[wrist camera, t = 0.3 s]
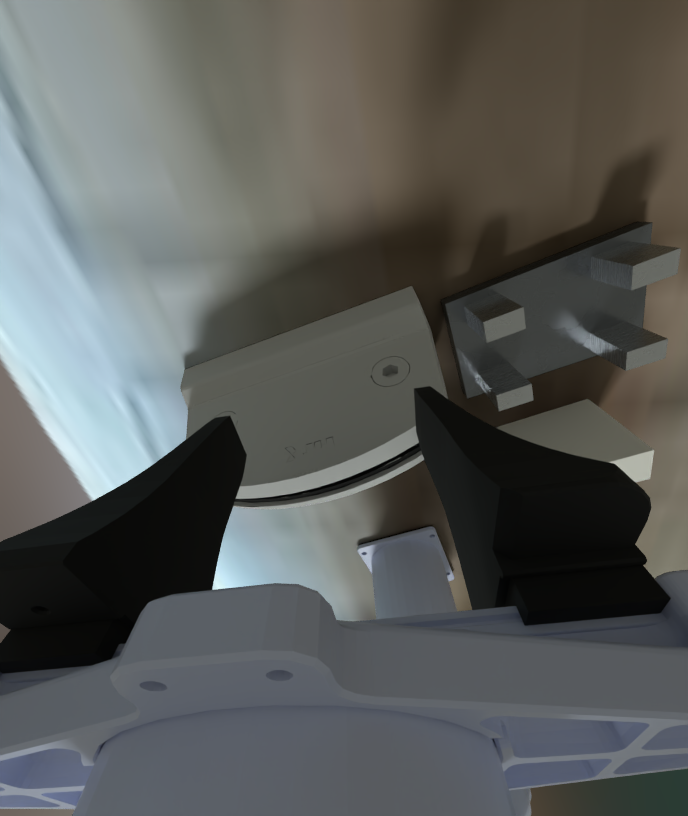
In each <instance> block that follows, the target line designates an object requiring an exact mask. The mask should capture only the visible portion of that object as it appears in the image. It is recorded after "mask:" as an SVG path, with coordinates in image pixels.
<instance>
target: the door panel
mask: <svg viewBox="0 0 688 816" xmlns="http://www.w3.org/2000/svg"><path fill="white" fill-rule="evenodd" d="M496 428H498V429H500V430H502V431H504V432H506V433H508V434H511V435H513V436H516V437H518V438H521V439H524V440H526V441H529V442H532V443H535V444H538V445H541V446H544V447H547V448H550V449H554V450H557V451H561V452H565V453H568V454H572V455H576V456H581V457H585V458H590V459H595V460H599V461H604V462H609V463H613V464H616V465H617V466H618V467H619V468H620V469H621V470H622V471H624V472H625V473H626V474H627V475H628V476H629V477H630V478H631V479H632V480H633V481H634V482H639V481H643V480H647V479H650V476H651V468H652V461H653V454H654V449H652V448H651V447H650V446H648V445H647V444H646V443H645V442H643V441H642V440H641V439H639V438H638V437H637V436H635V435H634V434H633V433H632V432H630V431H629V430H628V429H626V428H625V427H624V426H623V425H621V424H620V423H619V422H617V421H616V420H615V419H614V418H612V417H611V416H610V415H608V414H607V413H606V412H605V411H603V410H602V409H601V408H599V407H598V406H597V405H596V404H594V403H593V402H592V401H590V400H589V399H585V400H582V401H579V402H576V403H573V404H569V405H566V406H563V407H560V408H557V409H553V410H550V411H547V412H544V413H541V414H537V415H534V416H531V417H528V418H524V419H521V420H518V421H515V422H512V423H508V424H505V425H502V426H499V427H496Z"/></svg>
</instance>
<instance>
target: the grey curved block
mask: <svg viewBox="0 0 688 816" xmlns="http://www.w3.org/2000/svg"><path fill="white" fill-rule="evenodd" d="M427 386H431V387H432V388H434V389H435V390H436V391H438V392H439V393H440V394H442V395H443V396H444V397H446V398H447V399H448V396H447V392H446V388H445V383H444V379H443V375H442V372H441V368H440V364H439V360H438V356H437V352H436V348H435V344H434V340H433V336H432V332H431V328H430V326H429V323H428V321H427V318H426V316H425V314H424V311H423V309H422V306H421V304H420V301H419V299H418V297H417V295H416V293H415V291H414V289H413V287H412V286H410V287H407V288H405V289H402V290H399V291H397V292H394V293H391V294H388V295H386V296H383V297H380V298H378V299H375V300H372V301H369V302H367V303H364V304H361V305H359V306H356V307H353V308H350V309H348V310H345V311H342V312H340V313H337V314H334V315H331V316H329V317H326V318H323V319H321V320H318V321H315V322H312V323H310V324H307V325H304V326H302V327H299V328H296V329H293V330H291V331H288V332H285V333H282V334H280V335H277V336H274V337H272V338H269V339H266V340H263V341H261V342H258V343H255V344H253V345H250V346H247V347H244V348H242V349H239V350H236V351H234V352H231V353H228V354H225V355H223V356H220V357H217V358H215V359H212V360H209V361H206V362H204V363H201V364H198V365H196V366H193V367H190V368H187V369H185V370H184V374H183V378H182V382H181V392H182V394H183V397H184V399H185V402H186V404H187V407H188V421H187V435H186V439H188V438H189V437H190V436H191V435H193V434H194V433H195V432H196V431H198V430H199V429H200V428H201V427H203V426H204V425H205V424H207V423H208V422H209V421H211V420H212V419H214V418H216V417H223V416H231V419H232V421H233V423H234V426H235V428H236V430H237V433H238V435H239V438H240V440H241V442H242V445H243V447H244V450H245V452H246V454H247V457H246V464H245V469H244V474H243V478H242V482H241V485H240V488H239V491H238V494H237V496H236V499H235V502H234V505H233V507H240V508H249V509H284V508H294V507H302V506H308V505H314V504H319V503H323V502H327V501H331V500H335V499H338V498H342V497H345V496H348V495H352V494H354V493H357V492H360V491H362V490H365V489H368V488H371V487H373V486H375V485H377V484H380V483H382V482H384V481H387V480H389V479H391V478H393V477H395V476H397V475H399V474H400V473H402V472H404V471H406V470H408V469H410V468H411V467H413V466H415V465H416V464H418V463H420V462H421V461H423V460H424V457H423V455H422V452H421V448H420V445H419V441H418V437H417V433H416V420H415V401H414V388H420V387H427Z"/></svg>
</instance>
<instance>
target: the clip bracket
mask: <svg viewBox="0 0 688 816" xmlns="http://www.w3.org/2000/svg"><path fill="white" fill-rule="evenodd" d="M651 232H652V222H635V223H633V224H630V225H628V226H625V227H622V228H620V229H617V230H615V231H612V232H610V233H607V234H605V235H602V236H600V237H597V238H595V239H592V240H590V241H587V242H585V243H582V244H580V245H577V246H575V247H572V248H570V249H567V250H565V251H562V252H560V253H557V254H555V255H552V256H550V257H547V258H545V259H542V260H540V261H537V262H535V263H532V264H530V265H527V266H525V267H522V268H520V269H517V270H514V271H512V272H509V273H507V274H504V275H502V276H499V277H497V278H494V279H492V280H489V281H487V282H484V283H482V284H479V285H477V286H474V287H472V288H469V289H467V290H464V291H462V292H459V293H457V294H454V295H452V296H449V297H447V298H444V299H442V300H441V304H442V308H443V312H444V316H445V320H446V324H447V329H448V333H449V337H450V341H451V345H452V349H453V353H454V358H455V362H456V366H457V370H458V374H459V378H460V382H461V387H462V391H463V393H464V394H465V396H466V397H467V399H468V398H471V397H474V396H477V395H480V394H483V393H485V394H486V395H487V396H488V398H489V399H490V400H491V402H492V403H493V404H494V405H495V407H496V408H497V409H498V411H502V410H505V409H508V408H511V407H514V406H517V405H521V404H524V403H527V402H530V401H533V391H532V384H531V383H530V382H529V381H528V380H527V379H528V378H531V377H534V376H537V375H540V374H543V373H546V372H549V371H552V370H555V369H558V368H561V367H564V366H567V365H570V364H573V363H576V362H579V361H582V360H585V359H588V358H591V357H594V356H597V355H599V356H601V357H603V358H605V359H606V360H608V361H610V362H611V363H613V364H615V365H617V366H618V367H620V368H622V369H623V370H625V371H627V370H630V369H633V368H636V367H639V366H642V365H645V364H649V363H652V362H655V361H658V360H661V359H664V358H665V357H666V350H667V343H668V339H667V338H665V337H662V336H660V335H658V334H655V333H653V332H650V331H648V330H645V329H643V317H644V307H645V296H646V285H648V284H651V283H654V282H656V281H659V280H662V279H665V278H667V277H670V276H673V275H676V274H677V272H678V265H679V258H680V251H681V248H676V247H669V246H661V245H653V244H650V243H651Z"/></svg>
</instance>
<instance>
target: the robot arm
mask: <svg viewBox="0 0 688 816" xmlns="http://www.w3.org/2000/svg"><path fill="white" fill-rule="evenodd" d="M414 401H415V420H416V433H417V437H418V441H419V445H420V448H421V452H422V455H423V457H424V460H425V462H426V465H427V467H428V470H429V472H430V474H431V477H432V479H433V482H434V484H435V486H436V489H437V491H438V494H439V496H440V498H441V501H442V504H443V506H444V509H445V512H446V515H447V519H448V522H449V526H450V529H451V532H452V536H453V539H454V543H455V546H456V550H457V553H458V557H459V560H460V564H461V568H462V572H463V575H464V579H465V583H466V587H467V590H468V594H469V598H470V602H471V606H472V610H468V611H458V612H457V609H456V606H455V602H454V599H453V595H452V592H451V588H450V585H449V582H448V581H451V580H453V579H454V575H453V572H452V570H451V567H450V565H449V562H448V560H447V557H446V555H445V552H444V550H443V547H442V545H441V542H440V540H439V537H438V535H437V532H436V530H435V528H434V527H426V528H422V529H418V530H415V531H411V532H407V533H403V534H399V535H396V536H392V537H388V538H384V539H381V540H377V541H373V542H369V543H365V544H362V545H359V546H358V547H357V551H358V553H359V554H360V556H361V557H362V559H363V561H364V562H365V564H366V565H367V567H368V568H369V570H370V571H371V573H372V577H373V587H374V598H375V609H376V619H375V620H365V621H354V622H352V621H340V620H336V618H335V615H334V612H333V609H332V607H331V605H330V604H329V603H328V602H327V601H326V600H325V599H324V598H323V597H322V596H321V594H319V593H318V592H317V591H315V590H312V589H309V588H307V587H304V586H301V585H299V584H278V583H274V584H264V585H255V586H246V587H236V588H227V589H218V590H212V586H213V581H214V576H215V571H216V566H217V561H218V556H219V552H220V547H221V543H222V539H223V535H224V532H225V528H226V525H227V522H228V519H229V516H230V514H231V511H232V508H233V505H234V502H235V499H236V496H237V494H238V491H239V488H240V485H241V482H242V478H243V474H244V469H245V464H246V457H247V454H246V452H245V450H244V447H243V445H242V442H241V440H240V438H239V435H238V433H237V430H236V428H235V426H234V423H233V421H232V419H231V416H223V417H216V418H214V419H212V420H211V421H209V422H208V423H207V424H205V425H204V426H203V427H201V428H200V429H199V430H198V431H196V432H195V433H194V434H193V435H191V436H190V437H189V438H188V439H186V440H185V441H184V442H182V443H181V444H180V445H179V446H177V447H176V448H175V449H174V450H172V451H171V452H170V453H168V454H167V455H166V456H164V457H163V458H161V459H160V460H159V461H157V462H156V463H155V464H153V465H152V466H151V467H149V468H148V469H146V470H145V471H143V472H142V473H140V474H139V475H137V476H135V477H134V478H132V479H131V480H129V481H128V482H126V483H124V484H123V485H121V486H119V487H117V488H116V489H114V490H112V491H110V492H108V493H106V494H105V495H103V496H101V497H99V498H97V499H96V500H94V501H92V502H90V503H88V504H86V505H84V506H82V507H80V508H78V509H76V510H74V511H72V512H70V513H67V514H65V515H63V516H61V517H59V518H56V519H55V520H52V521H50V522H47V523H45V524H43V525H40V526H38V527H35V528H33V529H30V530H28V531H25V532H23V533H21V534H18V535H16V536H13V537H11V538H8V539H5V540H3V541H2V542H0V623H1V624H2V625H4V626H5V627H7V628H8V629H11V630H10V632H9V633H8V634H7V635H6V637H5V638H4V639H3V641H2V642H1V643H0V808H1V809H11V808H12V809H13V808H14V809H24V808H25V809H75V810H74V813H73V814H72V816H531V807H530V800H531V791H530V788H533V787H541V786H548V785H557V784H565V783H572V782H581V781H589V780H597V779H605V778H613V777H621V776H628V775H636V774H644V773H653V772H661V771H670V770H679V769H687V768H688V570H680V571H672V572H667V573H664V574H662V575H659V576H657V577H656V578H655V579H654V578H653V577H652V575H651V574H650V573H649V572H648V571H647V570H646V568H645V567H644V566H643V565H644V564H646V562H647V559H646V557H645V555H644V554H643V553H642V552H641V551H640V550H639V548H638V547H637V546H636V545H635V543H636V541H637V540H638V538H639V536H640V534H641V532H642V530H643V528H644V526H645V524H646V522H647V520H648V517H649V514H650V510H651V502H650V498H649V496H648V495H647V494H646V493H645V491H644V490H643V489H642V488H641V487H640V486H639V485H638V484H636V483H635V482H634V481H633V480H632V479H631V478H630V477H629V476H628V475H627V474H626V473H625V472H624V471H622V470H621V469H620V468H619V467H618V466H617V465H616V464H613V463H609V462H604V461H599V460H595V459H590V458H585V457H581V456H576V455H572V454H568V453H565V452H561V451H557V450H554V449H550V448H547V447H544V446H541V445H538V444H535V443H532V442H529V441H526V440H524V439H521V438H518V437H516V436H513V435H511V434H508V433H506V432H504V431H502V430H500V429H498V428H495V427H493V426H491V425H489V424H487V423H485V422H483V421H482V420H480V419H478V418H476V417H475V416H473V415H471V414H470V413H468V412H466V411H465V410H463V409H462V408H460V407H459V406H457V405H456V404H454V403H453V402H451V401H450V400H449V399H447V398H446V397H444V396H443V395H442V394H440V393H439V392H438V391H436V390H435V389H434V388H432V387H431V386H427V387H420V388H414Z"/></svg>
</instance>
